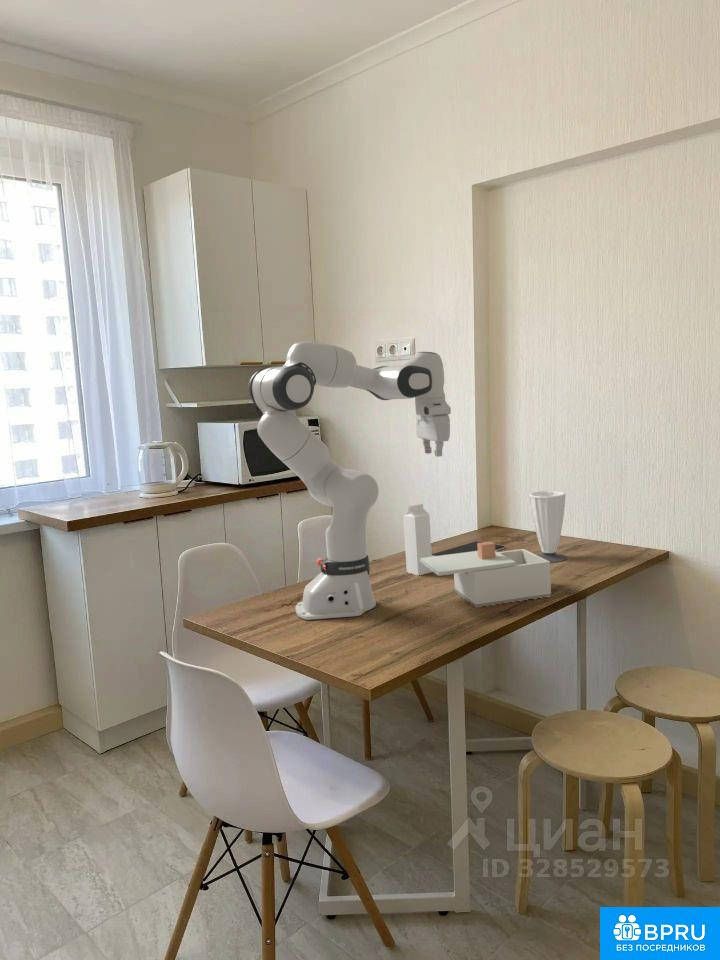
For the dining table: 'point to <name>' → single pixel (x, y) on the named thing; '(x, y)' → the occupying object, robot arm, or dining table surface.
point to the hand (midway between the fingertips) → (433, 454)
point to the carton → (506, 580)
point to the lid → (468, 560)
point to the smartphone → (465, 549)
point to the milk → (417, 539)
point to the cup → (548, 522)
